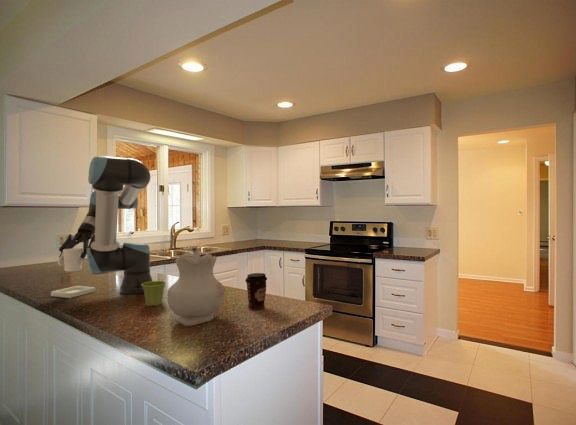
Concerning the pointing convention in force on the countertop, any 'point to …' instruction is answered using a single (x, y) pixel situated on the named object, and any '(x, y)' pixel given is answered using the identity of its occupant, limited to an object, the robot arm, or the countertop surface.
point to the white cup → (71, 259)
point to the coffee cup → (256, 290)
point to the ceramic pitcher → (195, 289)
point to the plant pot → (153, 292)
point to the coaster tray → (73, 291)
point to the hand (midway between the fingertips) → (68, 263)
